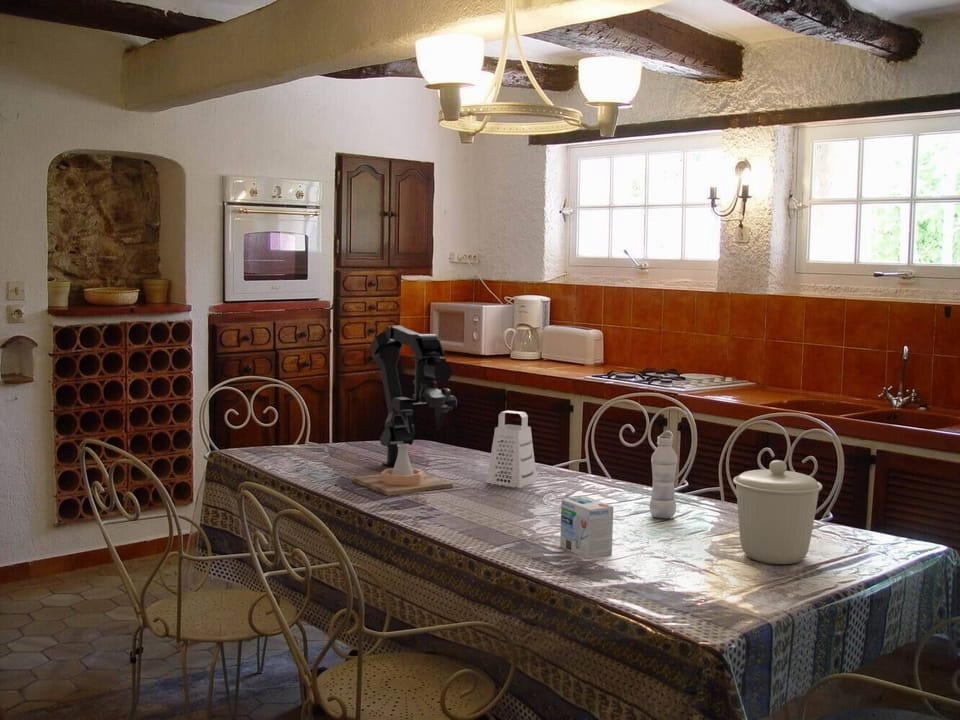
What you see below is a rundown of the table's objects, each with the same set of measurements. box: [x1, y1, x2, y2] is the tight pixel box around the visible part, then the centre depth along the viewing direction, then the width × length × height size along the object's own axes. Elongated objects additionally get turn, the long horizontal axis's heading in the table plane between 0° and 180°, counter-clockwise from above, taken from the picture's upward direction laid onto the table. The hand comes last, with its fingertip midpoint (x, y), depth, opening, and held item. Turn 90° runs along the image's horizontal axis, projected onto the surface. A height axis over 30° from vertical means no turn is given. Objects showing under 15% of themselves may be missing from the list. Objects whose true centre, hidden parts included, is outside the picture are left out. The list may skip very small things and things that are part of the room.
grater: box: [486, 409, 538, 489], centre depth 283 cm, size 10×10×20 cm
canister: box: [732, 459, 823, 565], centre depth 214 cm, size 18×18×21 cm
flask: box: [391, 444, 414, 475], centre depth 279 cm, size 7×7×10 cm
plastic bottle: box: [648, 435, 679, 519], centre depth 246 cm, size 6×7×20 cm
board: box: [352, 472, 453, 497], centre depth 279 cm, size 20×20×1 cm
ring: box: [380, 467, 425, 485], centre depth 279 cm, size 11×11×2 cm
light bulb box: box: [559, 495, 614, 560], centre depth 217 cm, size 11×7×11 cm, turn 29°
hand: (423, 431), depth 291 cm, fingers open, 9 cm apart
